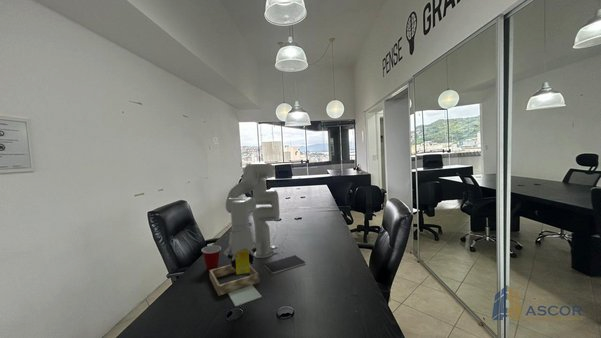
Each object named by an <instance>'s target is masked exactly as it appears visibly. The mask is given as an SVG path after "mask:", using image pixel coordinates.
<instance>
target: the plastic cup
mask: <svg viewBox="0 0 601 338" xmlns="http://www.w3.org/2000/svg"><path fill="white" fill-rule="evenodd" d="M221 250H222V247H221V246H219V245H213V244H212V245H208V246H204V247H203V248H201V253H202V255H203V258H204V263H205V267H206V269H207V271H209V270H213V269H216V268H219V258H220V252H221Z"/></svg>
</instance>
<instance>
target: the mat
mask: <svg viewBox="0 0 601 338" xmlns="http://www.w3.org/2000/svg"><path fill="white" fill-rule="evenodd" d="M227 294H228V296H229V298H230V300H231V302H232V303H233V305H234V306H235V307H239V306H243V305H245V304H246V303H247V304H248V303H250V302H253V301H255V300H257V299H260V298H262V295H261V294H260V292H259V291H258V290H257V289H256V288H255V287H254V284H253V285H250V286H247V287H244V288H241V289H238V290H235V291H232V292H229V293H227Z"/></svg>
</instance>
